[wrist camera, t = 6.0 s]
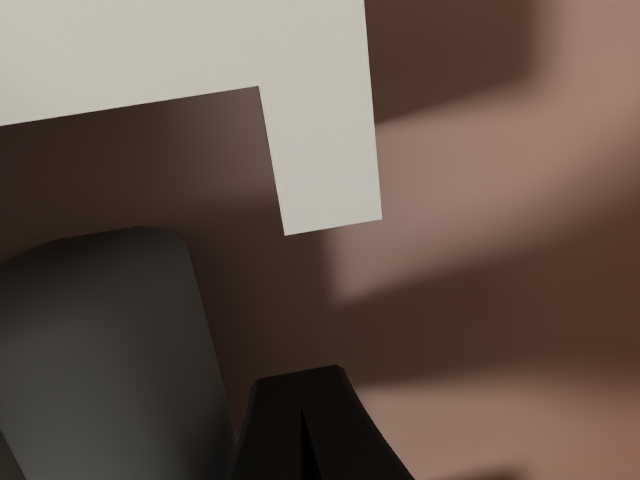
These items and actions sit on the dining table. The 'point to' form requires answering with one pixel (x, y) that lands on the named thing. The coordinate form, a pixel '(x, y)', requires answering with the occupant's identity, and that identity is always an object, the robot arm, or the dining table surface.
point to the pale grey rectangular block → (211, 86)
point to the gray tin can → (111, 362)
